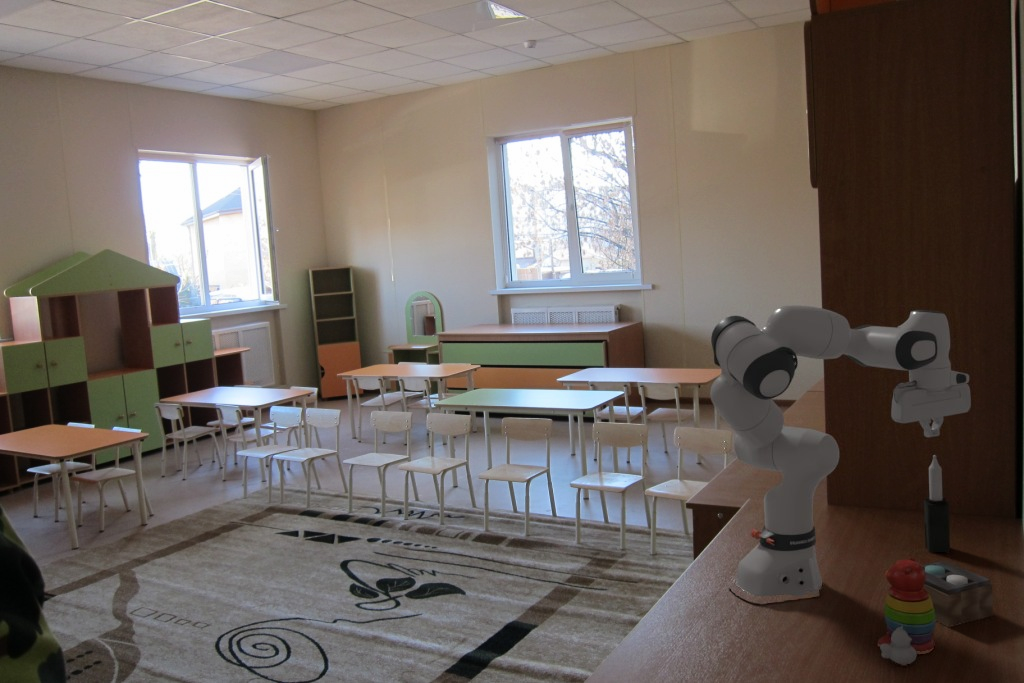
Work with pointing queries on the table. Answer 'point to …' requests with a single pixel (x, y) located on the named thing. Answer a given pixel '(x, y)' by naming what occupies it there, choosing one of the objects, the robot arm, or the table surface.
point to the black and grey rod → (936, 513)
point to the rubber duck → (899, 647)
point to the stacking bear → (909, 605)
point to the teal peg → (934, 570)
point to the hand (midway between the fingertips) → (931, 436)
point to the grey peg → (957, 579)
